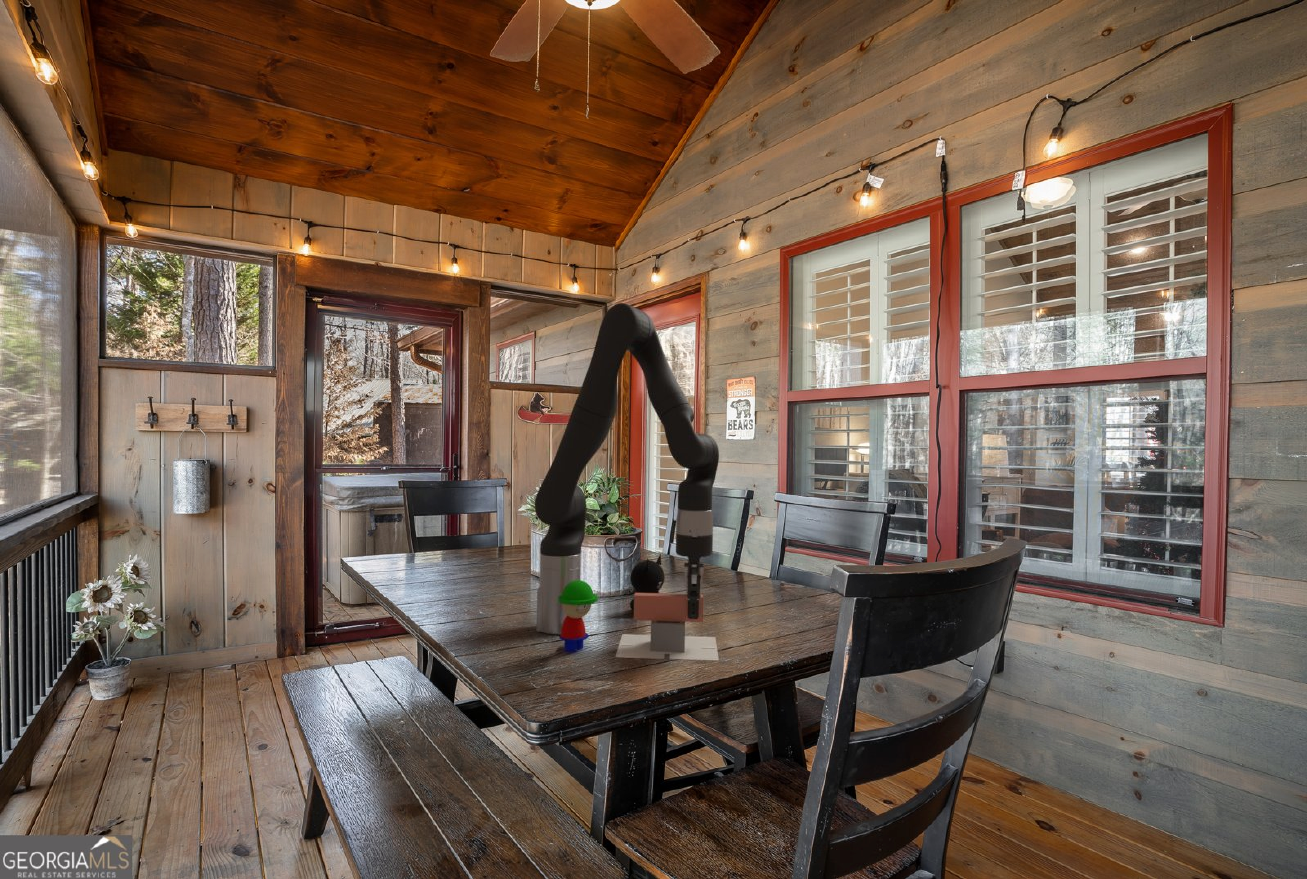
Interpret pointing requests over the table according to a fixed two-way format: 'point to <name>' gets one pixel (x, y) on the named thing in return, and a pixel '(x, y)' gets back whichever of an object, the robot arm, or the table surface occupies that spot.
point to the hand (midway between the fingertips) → (692, 616)
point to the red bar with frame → (665, 619)
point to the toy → (575, 613)
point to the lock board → (693, 651)
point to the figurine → (647, 577)
